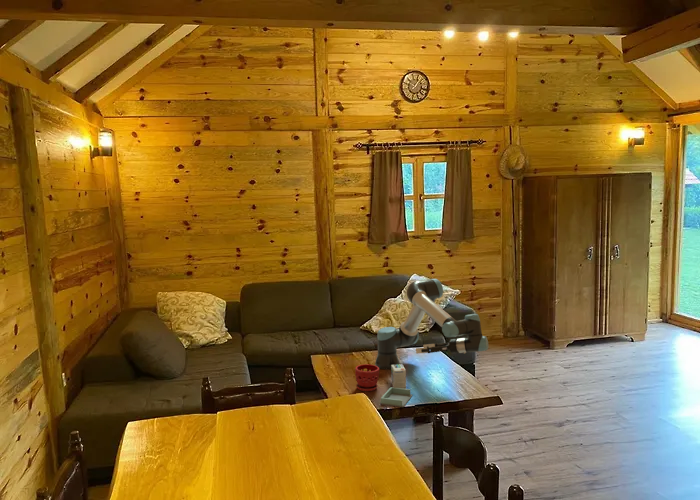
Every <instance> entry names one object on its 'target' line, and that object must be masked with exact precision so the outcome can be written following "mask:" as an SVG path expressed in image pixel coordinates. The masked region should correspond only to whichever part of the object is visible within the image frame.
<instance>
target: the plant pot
mask: <svg viewBox="0 0 700 500" xmlns="http://www.w3.org/2000/svg"><path fill="white" fill-rule="evenodd" d="M365 369H366V371H364V370H365ZM354 371H355V372H354V373H355V374H354V375H355V380H356V388H357V389H358V390H359V391H362V392H372V391H375V390H377V388H378V381H379V378H380V377H379V376H380V368H379V367H377V366H375V364H370V363H369V364H367V363H364V364H359V365H357V366H355V370H354Z"/></svg>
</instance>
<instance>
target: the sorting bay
mask: <svg viewBox="0 0 700 500" xmlns="http://www.w3.org/2000/svg"><path fill="white" fill-rule="evenodd" d="M411 393H412V391H411V389H410V388H406V389H402V388H394V387H393V386H392V387H389V388H388V389H387V391H386V392H385V393H384V394H383V395H381V397H380V405H383V406H384V405H385V406H393V407H399V408H400V407H401V408H404V407H405V406H406V405H407V404H408V402H409V401H410V399H411V398H412V397H413V394H411Z"/></svg>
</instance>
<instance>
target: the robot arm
mask: <svg viewBox="0 0 700 500" xmlns="http://www.w3.org/2000/svg"><path fill="white" fill-rule="evenodd" d="M443 287H444V286H443V284H442V282H441V281H440V280H439V279H438V278H428V279H420V280H414V281H412V282H411V283H410V284H409V285H408V286H407V288H406V297H407V299H408V301H409V302H410V303H411V304H412V307H411V308H410V311H409V313H408V314H407V316H406V319H405V321H402V322H401V323H400V325H399V327H397V328H396V327H393V326H385V327H382V328H380V329H378V331H377V333H376V334H377V335H376V336H377V337H376V338H377V356H376V359H375V362H374V363H375V364H374V365H375V366H377V367H379V370H391V365H398V364H400V359H399V356H398V353H397V348H402V347H408V346H412V345H415V344H416V343H418V341H419V338H420V336H419V335H420V333H419V329H418V327H419V326H420V325H421V322H422V320H423V318H424V316H425V314H426V315H427V316H429V318H431V319H432V320H433V322H435V323H436V324H437V325H439V326H440V327H441V331H442V333H443V336H445V337H446V338H451V339H449V342H437V343H428V344H423V346H422V347H417V348H415V353H416V354H418V355H419V354H433V353H439V352H440V353H441V352H448V351H450V353H451V354H466V353H476V352H477V353H478V352H485V351H488V350H489V341H488V337H487V336H484V335H483V333H482V326H481V325H482V324H481V318H480V316H479V314H478V313H471V314H465V316H464V319H460V320H456V319H455V318H454V317H452V316H451V315H450V314H449V313H448V312H447V311H445V310H444V309H443V308H442V307H441V306H439V305H438V304H437V303H436V299H440V298H442V297H443V295H444V288H443ZM464 335H467V336H466V337H460V336H464ZM456 337H460V338H456Z"/></svg>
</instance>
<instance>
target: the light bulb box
mask: <svg viewBox="0 0 700 500" xmlns="http://www.w3.org/2000/svg"><path fill="white" fill-rule="evenodd" d="M390 370H391V372H390V373H391V376H390V377H391V386H392V387H394V388H402V389H407V379H406V378H407V376H406V375H407V370H406V368H405V367H404V364H402V363H401V364H398V365H391V369H390Z"/></svg>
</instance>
